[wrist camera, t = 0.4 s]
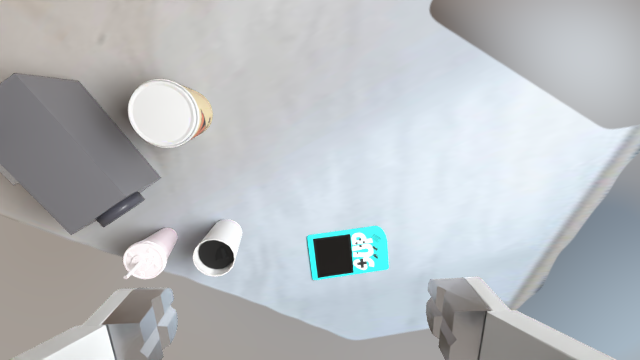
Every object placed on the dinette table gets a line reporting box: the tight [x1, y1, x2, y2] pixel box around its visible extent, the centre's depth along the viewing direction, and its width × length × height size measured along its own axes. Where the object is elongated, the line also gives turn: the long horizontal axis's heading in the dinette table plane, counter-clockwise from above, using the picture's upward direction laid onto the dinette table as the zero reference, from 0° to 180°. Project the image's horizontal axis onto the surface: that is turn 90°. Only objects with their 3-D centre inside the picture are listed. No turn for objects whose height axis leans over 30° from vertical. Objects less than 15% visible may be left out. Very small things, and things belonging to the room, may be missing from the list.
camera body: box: [0, 73, 161, 235], centre depth 47 cm, size 22×10×12 cm, turn 34°
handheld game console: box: [307, 226, 389, 280], centre depth 62 cm, size 10×16×1 cm, turn 96°
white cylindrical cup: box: [193, 219, 242, 277], centre depth 54 cm, size 7×7×10 cm
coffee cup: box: [128, 79, 213, 148], centre depth 47 cm, size 9×9×12 cm
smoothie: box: [123, 228, 178, 279], centre depth 51 cm, size 6×6×14 cm
